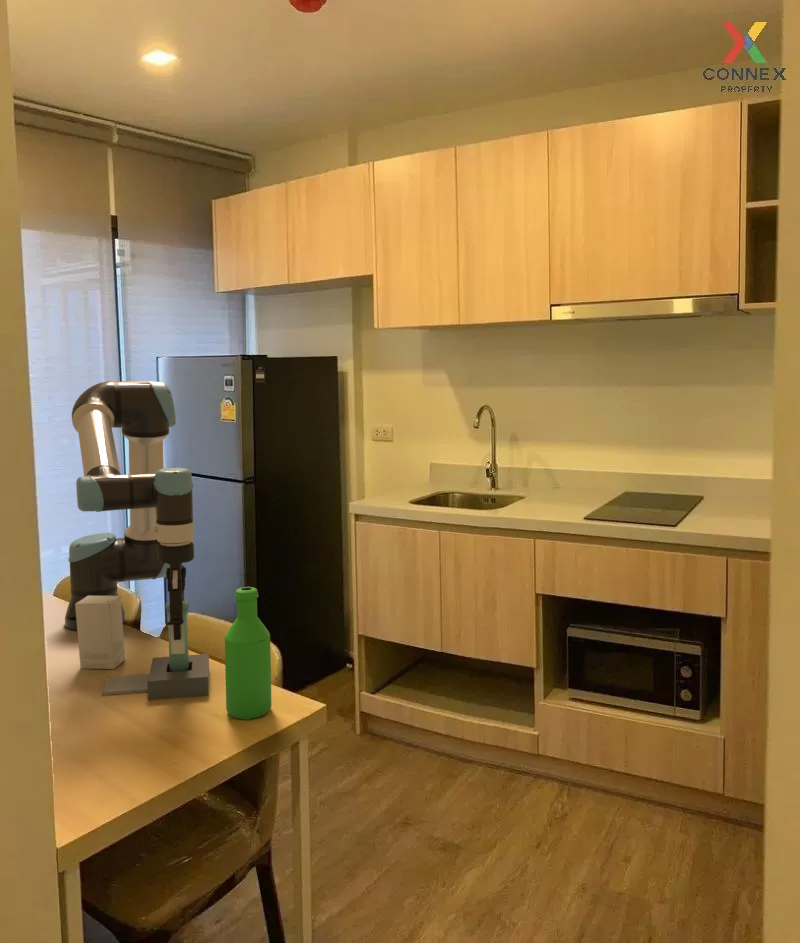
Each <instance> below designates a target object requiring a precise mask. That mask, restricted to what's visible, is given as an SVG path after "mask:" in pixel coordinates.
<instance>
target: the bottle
mask: <svg viewBox="0 0 800 943" xmlns="http://www.w3.org/2000/svg"><path fill="white" fill-rule="evenodd" d="M257 598H259V591H258V589H257V588H256V587H251V586H245V587H244V586H243V587H240V588H237V589H236V590H235V594H234V599H235V600H236V618H235V620H234V622H232V624H231V626H230V628H229V629H228V630H227V632H226V634H225V635H224V665H225V666H224V668H225V669H224V671H225V673H224V674H225V706H226V708H225V709H226V712H227V713H228V714H229V715H230V716H232V717H233V718H236V719H238V720H239V719H240V720H252V719H257V718H260V717H263V716H264V715H266V714H267V713H268V712H269V711H270V710H271V708H272V667H271V666H272V664H271V662H272V658H271V653H272V652H271V633H270V631H269V630H268V629H267V627H266V626H265V625H264V623H263V622H262V621H261V619H260V618H259V617H258V599H257Z"/></svg>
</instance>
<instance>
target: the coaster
mask: <svg viewBox="0 0 800 943" xmlns="http://www.w3.org/2000/svg"><path fill="white" fill-rule="evenodd" d="M148 677H149V673H139V674H138V673H137V674H126V675H123V674H122V675H113V676H107V679H106V680H105V684H104V686H103V690H102V692H101V695H102V696H110V695H124V694H138V693H146V692H147V693H148V683H147V681H148Z"/></svg>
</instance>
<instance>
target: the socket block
mask: <svg viewBox="0 0 800 943" xmlns="http://www.w3.org/2000/svg"><path fill="white" fill-rule="evenodd" d="M209 654H210V653H202V654H201V653H200V654H188V655H189V671H177V672H170V667H169V656H162V657H161V656H160V657H159V656H158V657H157V656H156V657H152V659H151V665H150V669H149V673H148V674H149V677H148V681H147V683H148V692H147V700H148V701H153V700H167V699H179V698H190V697H204V696H209V690H208V689H209V687H210V686H209V685H210V655H209Z"/></svg>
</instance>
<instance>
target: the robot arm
mask: <svg viewBox="0 0 800 943" xmlns="http://www.w3.org/2000/svg"><path fill="white" fill-rule="evenodd" d="M173 398H174V397H173V394H172V391H171V387H170V386H169V385H168V384H167V383H166V382H164V381H152V380H139V381H138V380H136V381H134V380H133V381H127V380H126V381H112V380H111V381H109V380H108V381H102V382H98V383H96V384H94V385H92V386H90V387H88V388H87V389H86V390H85V391H83V392H82V393H81V394H80V395H79V397H78V398H77V399H76V400H75V402H74V405H73V407H72V410H71V411H72V412H71V422H72V426H73V429H74V430H75V431H76V432H77V434H78V439H79V447H80V456H81V463H82V464H81V465H82V469H83V470H82V471H83V476H80V477H77V479H76V484H75V485H76V487H75V488H76V499H77V500H76V501H77V502H76V504H77V508H78V510H80V511H81V512H96V513H99V512H107V511H108V512H109V511H110V512H111V511H120V510H121V511H123V510H129V525H128V527H127V528H125V530H124V533H123V535H124V537H119V538H117V536H116V535H115V533H114V532H113V533H112V532H101V533H100V532H99V533H93V534H89V535H85V536H82V537H79V538H76V539H75V540H73V541H72V542H71V543H70V545H69V548H68V549H69V550H68V551H69V552H68V553H69V555H68V559H67V560H68V563H69V573H70V574H69V578H70V579H69V580H70V581H69V582H70V585H69V586H70V599H69V602H68V606H67V608H66V612H65V616H64V626H65V627H66V628H67V629H68V630H71V631H77V620H76V608H75V604H76V603H77V602H79V601H81V600H82V599H84V598H85V597H87V596H120V595H119V591H118V583H122V582H134V581H143V580H144V581H145V580H157V579H161V578H162V579H163V578H166V580H167V592H168V593H169V594H168V597H169V599H168V600H169V602H170V622H168V621H167V622H166V625H167V626H168V625H170V627H171V654H183V653H185V642H184V620H183V600H184V601H185V589H186V588H185V587H186V576H187V567H186V566H185V565H184V563H185V564H186V563H189V562H191V561H193V560H194V559H195V544H194V542H193V541H194V540H195V533H194V532H195V529H194V526H195V525H194V524H195V523H194V517H193V516H194V514H193V513H194V512H193V508H194V507H193V500H194V499H193V488H194V484H193V479H192V477H193V476H192V472H191V470H190V469H189V468H183V467H164V440H165V439H166V438H167V437H168V436H169V435H170V428H172V427H175V426H176V424H177V423H176V417H177V416H176V409H175V403H174V399H173ZM113 428H114V429H115V428H121V432H122V435H123V436H124V438H126V439H127V440H128V474H121V470H120V464H119V459H118V455H117V448H116V443H115V438H114V433H113ZM121 609H122V622H123V623H125V621H126V611H125V608H124V605H123V602H122V601H121ZM188 613H189V612H188V610H187V616H188Z"/></svg>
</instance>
